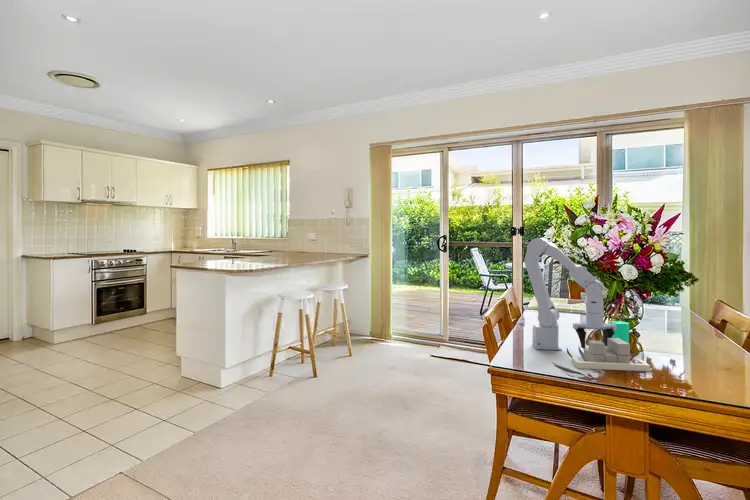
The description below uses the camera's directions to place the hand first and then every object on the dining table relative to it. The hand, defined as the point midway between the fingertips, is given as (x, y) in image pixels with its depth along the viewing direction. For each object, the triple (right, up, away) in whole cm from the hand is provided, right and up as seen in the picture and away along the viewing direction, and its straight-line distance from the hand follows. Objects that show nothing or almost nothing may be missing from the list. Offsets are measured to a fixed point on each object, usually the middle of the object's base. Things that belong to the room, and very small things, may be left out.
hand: (594, 348), depth 150 cm
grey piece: (-2, -3, -14) cm, 14 cm away
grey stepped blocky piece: (-1, -3, -7) cm, 8 cm away
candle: (+14, -2, +7) cm, 16 cm away
